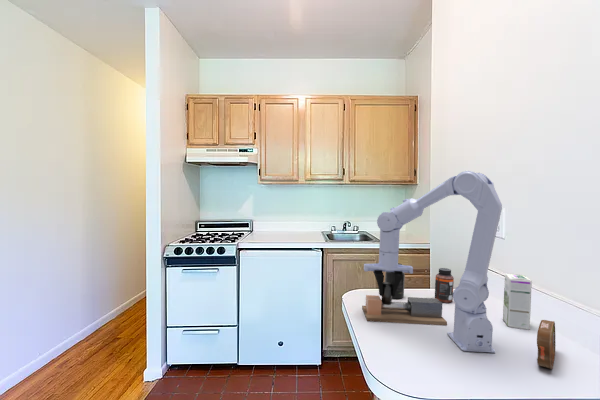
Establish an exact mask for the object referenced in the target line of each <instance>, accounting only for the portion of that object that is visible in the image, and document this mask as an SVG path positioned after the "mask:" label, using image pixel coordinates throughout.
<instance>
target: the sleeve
mask: <svg viewBox="0 0 600 400" xmlns="http://www.w3.org/2000/svg"><path fill="white" fill-rule="evenodd" d="M407 302H409V303H411V311H408V313H409V314H410V316H412V317H431V318H442V317H443V302H440V301H439V300H438V299H436V298H435V297H434V298H433V297H432V298H431V297H413V296H412V297H411V296H407Z"/></svg>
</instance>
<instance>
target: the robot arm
mask: <svg viewBox="0 0 600 400" xmlns="http://www.w3.org/2000/svg"><path fill="white" fill-rule="evenodd" d="M450 196H462V197H463V198H465V199H466V200H468V201H469V202H470V203H471V204H472V205H473V207H474V208H475V209H476V210H477V215H476V218H475V224H474V227H473V232H472V235H471V236H472V237H471V240H470V241H471V242H470V246H469V251H468V255H467V259H466V264H465V268H464V271H463V273H462V275H461V278H460V280H459V283H458V286H457V287H455V289H453V300H452V301H453V303H454V313H453V315H454V317H453V318H454V319H453V332H451V331H447V333H446V334H447V335H448V337H449V338H451V340H452V341H453V342H454V343H455V345H456V346H457V347H458V348H459V349H460V351H463V352H476V353H477V352H478V353H479V352H480V353H496V349H494V348H493V347H492V346H493V344H492V343H493V331H494V329H493V328H494V327H493V324H492V323H491V321H490V319H489V318H488V315H487V307H486V304H485V302H486V301H487V300H488V298H489V294H490V290H489V288H488V281H489V277H488V271H489V267H490V262H491V258H492V253H493V249H494V243H495V239H496V235H497V232H498V227H499V223H500V219H501V215H502V214H501V213H502V210H503V204H502V202H501V199H500V197H499V194H498V193H497V190H496V187H495V184H494V182H493V181H492V180H491V179H490V178H489V177H488V176H486V175H485V174H484V173H480V172H475V171H472V170H465V171H461V172H459V173H458V174H457V175H453V176H451V177H449V178H448V179H446V180H444V181H443V182H441V183H440V184H439V185H437V186H436V187H434V188H432V189H431V190H429V191H427V192H426V193H424V194H423V195H422V196H421V197H419V198H417V199H416V198H412V197H411V198H404V199H403V200H402V203H401V204H399V205H397V206H395V207H393V206H392V207H391V208H389V209H390V211H389V212H388V211H383V212H381V214H379V215H378V217H377V220H376V224H377V227H378V228H379V245H378V246H379V248H378V250H379V252H378V262H377V263H363V271H364V272H373V274H374V278H375V280H376V282H377V287H378V295H379V297H382V296H383V282H384V281H385V275H384V273H386V272H391V277H392V296H395V293H396V290H397V287H398V285H399V283H400V281H401V280H402V278H403V274H402V273H404V274H414V267H413V266H412V265H404V264H402V265H398V263H399V250H400V230H401V229H402V228H403V226H405V225H406V224H409V223H410V222H412V221H413V220H416V219H417V218H419V217H421V216H422V215H423V213H424V210H425V209H427V208H428V207H430V206H432V205H433V204H434V205H435V204H436V203H438V202H440V201H442V200H443V199H445V198H448V197H450Z"/></svg>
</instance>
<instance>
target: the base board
mask: <svg viewBox="0 0 600 400" xmlns="http://www.w3.org/2000/svg"><path fill="white" fill-rule="evenodd" d="M365 306H366V305H362V312H363V314H364V316H365V319H366V322H373V323H374V322H378V323H395V324H397V323H398V324H414V325H430V324H431V325H432V326H433V325H434V326H435V325H436V326H448V321H447V320H446V319H445V318H444V316H442V318H431V317H412V316H410V314H409V313H408V311H405V310H386V309H381V315H373V314H367V311H366V309H365Z"/></svg>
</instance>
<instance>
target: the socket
mask: <svg viewBox="0 0 600 400" xmlns="http://www.w3.org/2000/svg"><path fill="white" fill-rule="evenodd" d="M381 304H382V298H381V296H380V295H372V294H366V295H365V305H364V306H365V309H366V311H367V314H373V315H381Z"/></svg>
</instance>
